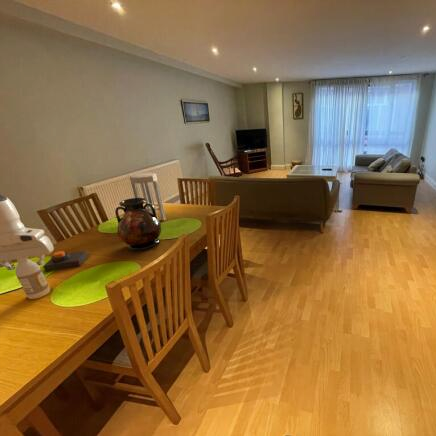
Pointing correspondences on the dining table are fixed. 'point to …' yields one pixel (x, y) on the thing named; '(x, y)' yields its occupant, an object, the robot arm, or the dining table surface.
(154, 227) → the amphora vase
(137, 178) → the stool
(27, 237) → the robot arm
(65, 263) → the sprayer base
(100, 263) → the dining table surface
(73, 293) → the dining table surface
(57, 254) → the button
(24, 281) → the bath foam
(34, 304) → the dining table surface
